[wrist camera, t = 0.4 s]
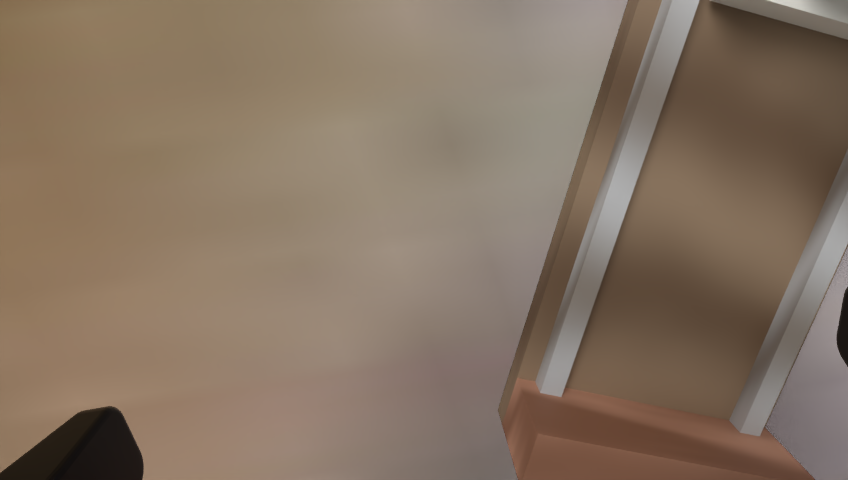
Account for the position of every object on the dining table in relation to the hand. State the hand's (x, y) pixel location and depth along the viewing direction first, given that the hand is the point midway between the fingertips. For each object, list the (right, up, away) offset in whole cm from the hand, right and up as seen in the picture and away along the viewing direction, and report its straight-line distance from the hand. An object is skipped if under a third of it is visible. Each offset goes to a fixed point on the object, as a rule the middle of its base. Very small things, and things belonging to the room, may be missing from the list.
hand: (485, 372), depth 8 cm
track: (+10, +5, +14) cm, 18 cm away
